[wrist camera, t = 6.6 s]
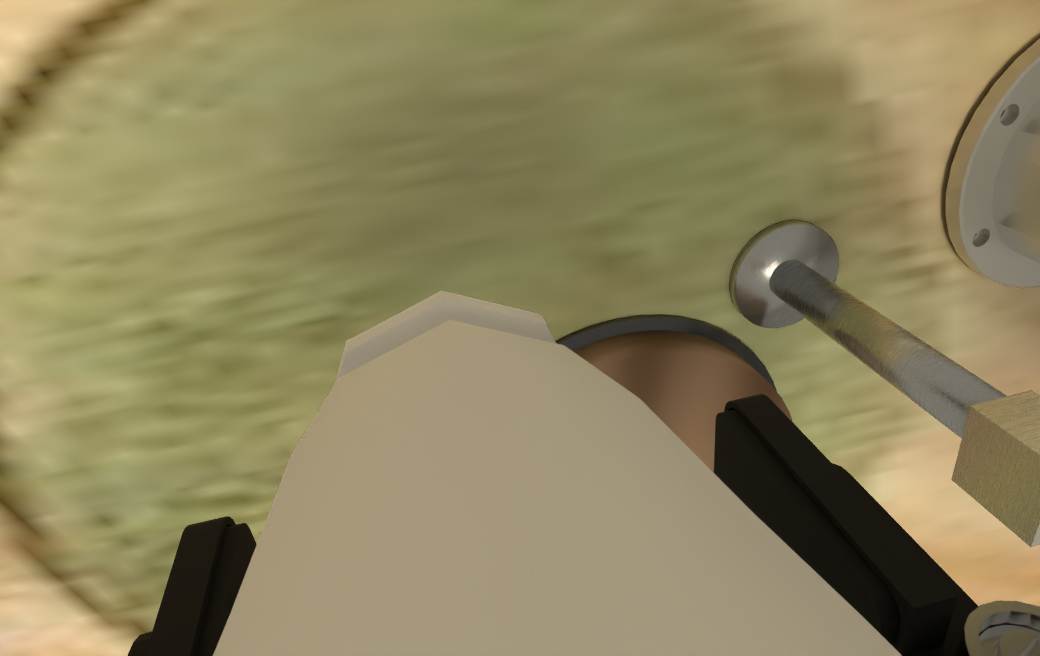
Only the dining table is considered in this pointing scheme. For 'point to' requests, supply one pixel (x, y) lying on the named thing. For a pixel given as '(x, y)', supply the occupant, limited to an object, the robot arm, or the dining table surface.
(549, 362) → the cup
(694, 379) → the turntable
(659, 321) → the turntable base
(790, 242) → the gauge post
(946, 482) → the dining table surface
